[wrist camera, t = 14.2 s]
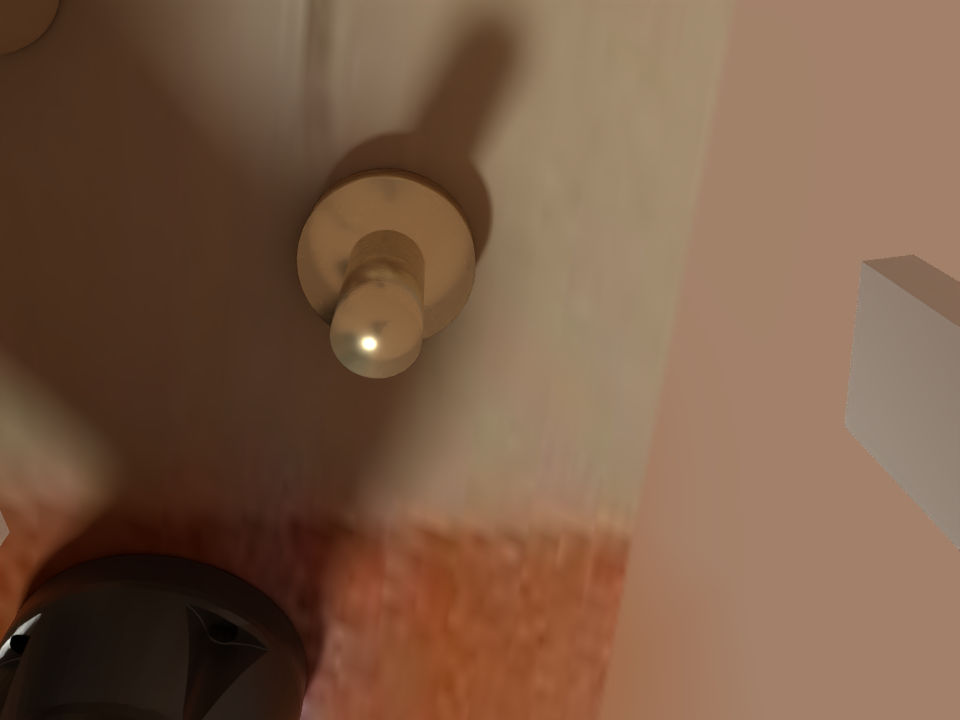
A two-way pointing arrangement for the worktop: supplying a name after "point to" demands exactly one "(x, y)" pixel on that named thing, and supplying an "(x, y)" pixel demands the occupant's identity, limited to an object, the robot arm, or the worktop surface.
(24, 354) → the worktop surface
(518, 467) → the worktop surface
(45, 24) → the beer glass
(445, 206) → the stand
